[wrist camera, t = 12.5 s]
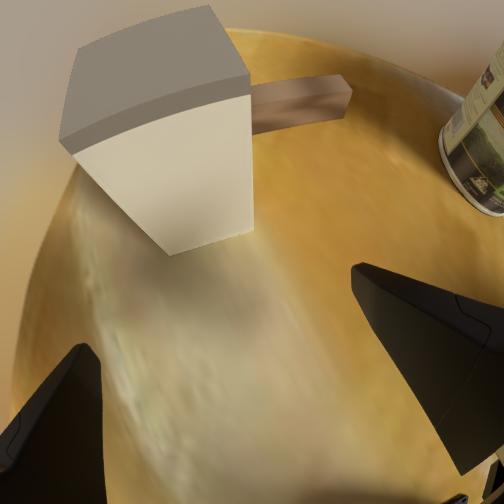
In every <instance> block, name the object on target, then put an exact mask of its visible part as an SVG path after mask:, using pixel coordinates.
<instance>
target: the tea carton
mask: <svg viewBox="0 0 504 504" xmlns="http://www.w3.org/2000/svg"><path fill="white" fill-rule="evenodd" d="M59 142H61V144H62V145H63V146H64V147H65V148H66V150H67V151H68V152H69V153H70V154H71V155H72V156H73V157H74V159H75V160H76V161H77V162H78V163H79V164H80V165H81V166H82V167H83V168H84V170H85V171H86V172H87V173H88V174H89V175H90V176H91V177H92V178H93V179H94V180H95V181H96V183H97V184H98V185H99V186H100V187H101V188H102V189H103V190H104V191H105V192H106V193H107V194H108V195H109V196H110V197H111V198H112V199H113V200H114V201H115V202H116V204H117V205H118V206H119V207H120V208H121V209H122V210H123V211H124V212H125V213H126V214H127V215H128V216H129V217H130V218H131V219H132V220H133V221H134V222H135V223H136V224H137V225H138V226H139V227H140V228H141V229H142V230H143V231H144V232H145V233H146V234H147V235H148V236H149V237H150V238H151V239H152V240H153V241H154V242H156V243H157V244H158V245H159V246H160V247H161V248H162V249H163V250H164V251H165V252H166V253H167V254H168V255H169V256H172V255H175V254H179V253H182V252H185V251H188V250H191V249H195V248H198V247H201V246H204V245H208V244H211V243H214V242H217V241H221V240H224V239H227V238H230V237H234V236H237V235H240V234H244V233H247V232H250V231H254V211H253V167H252V125H251V84H250V72H249V71H248V69H247V67H246V65H245V63H244V62H243V60H242V58H241V56H240V55H239V53H238V51H237V50H236V48H235V46H234V44H233V43H232V41H231V39H230V38H229V36H228V34H227V33H226V31H225V30H224V28H223V26H222V25H221V23H220V21H219V20H218V18H217V17H216V15H215V14H214V12H213V10H212V9H211V7H210V6H209V5H206V6H201V7H196V8H191V9H187V10H183V11H179V12H175V13H172V14H168V15H164V16H161V17H158V18H154V19H151V20H148V21H145V22H142V23H139V24H136V25H133V26H131V27H128V28H125V29H123V30H120V31H118V32H115V33H113V34H110V35H108V36H105V37H103V38H101V39H99V40H96V41H94V42H92V43H90V44H88V45H86V46H84V47H81V48H79V49H78V51H77V54H76V58H75V61H74V65H73V69H72V72H71V77H70V81H69V86H68V90H67V94H66V99H65V104H64V109H63V115H62V121H61V127H60V135H59Z"/></svg>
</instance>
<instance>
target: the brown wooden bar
mask: <svg viewBox="0 0 504 504" xmlns="http://www.w3.org/2000/svg"><path fill="white" fill-rule="evenodd" d="M352 92H353V90H352V89H351V88H350V86H349V85H348V84H347V82H346V81H345V80H344V78H343V77H342V76H341V75H326V76H316V77H306V78H298V79H291V80H283V81H277V82H271V83H265V84H259V85H254V86H251V125H252V135H255V134H260V133H264V132H269V131H273V130H278V129H283V128H288V127H293V126H299V125H304V124H310V123H315V122H322V121H328V120H334V119H341V118H344V115H345V112H346V109H347V107H348V104H349V101H350V98H351V95H352Z"/></svg>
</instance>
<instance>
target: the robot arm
mask: <svg viewBox="0 0 504 504" xmlns="http://www.w3.org/2000/svg"><path fill="white" fill-rule="evenodd" d="M351 287H352V291H353V294H354V296H355V298H356V299H357V301H358V303H359V305H360V307H361V309H362V311H363V313H364V315H365V316H366V318H367V320H368V322H369V324H370V326H371V328H372V330H373V331H374V333H375V334H376V336H377V337H378V339H379V340H380V342H381V343H382V345H383V346H384V348H385V349H386V351H387V352H388V354H389V355H390V357H391V358H392V360H393V361H394V363H395V365H396V366H397V368H398V369H399V371H400V372H401V374H402V375H403V377H404V379H405V380H406V382H407V383H408V385H409V387H410V388H411V390H412V391H413V393H414V395H415V396H416V398H417V400H418V401H419V403H420V404H421V406H422V408H423V409H424V411H425V413H426V414H427V416H428V418H429V420H430V421H431V423H432V425H433V426H434V428H435V430H436V432H437V434H438V435H439V437H440V439H441V441H442V442H443V444H444V446H445V448H446V450H447V451H448V453H449V455H450V457H451V459H452V460H453V462H454V464H455V466H456V468H457V470H458V472H459V473H460V475H461V476H463V475H464V474H466V473H467V472H469V471H470V470H472V469H473V468H474V467H476V466H477V465H479V464H480V463H481V462H483V461H484V460H485V459H487V458H488V457H489V456H491V455H492V454H493V453H494V452H495V453H496V455H497V457H498V459H497V460H496V461H495V462H494V463H493V464H492V465H491V466H490V471H489V475H488V478H487V482H486V486H485V489H484V492H483V496H482V498H483V500H484V501H483V502H482V503H481V504H504V308H500V307H496V306H492V305H489V304H486V303H482V302H479V301H476V300H473V299H470V298H467V297H464V296H461V295H458V294H454V293H453V292H450V291H447V290H444V289H441V288H438V287H435V286H433V285H430V284H427V283H424V282H421V281H418V280H415V279H412V278H409V277H406V276H403V275H400V274H398V273H395V272H392V271H389V270H386V269H383V268H380V267H377V266H374V265H371V264H367V263H364V262H362V263H359V264H356V265H353V266H352V268H351ZM467 501H468V496H467V495H462V496H461V497H459V498H457V499H456V500H454V501H452V502H450V503H449V504H467ZM0 504H107V496H106V487H105V476H104V460H103V400H102V382H101V363H100V360H99V358H98V357H97V356H96V354H95V353H94V352H93V350H92V349H91V348H90V346H89V345H88V344H86V343H81V344H77V345H75V346H74V347H73V348H72V349H71V350H70V352H69V353H68V354H67V355H66V356H65V357H64V358H63V360H62V361H61V362H60V363H59V364H58V365H57V366H56V368H55V369H54V370H53V371H52V372H51V373H50V375H49V376H48V377H47V378H46V379H45V381H44V382H43V383H42V384H41V385H40V387H39V388H38V389H37V390H36V391H35V393H34V394H33V395H32V396H31V398H30V399H29V400H28V401H27V402H26V404H25V405H24V406H23V408H22V409H21V410H20V412H19V413H18V414H17V415H16V416H15V418H14V419H13V420H12V421H11V423H10V424H9V425H8V427H7V428H6V429H5V430H4V431H3V433H2V434H1V435H0Z"/></svg>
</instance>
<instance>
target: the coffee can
mask: <svg viewBox="0 0 504 504" xmlns="http://www.w3.org/2000/svg"><path fill="white" fill-rule="evenodd" d="M438 143H439V151H440V154H441V158H442V161H443V163H444V165H445V168H446V170H447V172H448V173H449V176H450V177H451V179H452V180H453V182H454V184H455V185H456V186H457V188H458V189H459V191H460V192H461V193H462V194H463V195H464V197H465V198H466V199H467V200H468V201H469V202H470V203H471V204H472V205H473V206H475V207H476V208H477V209H479V210H480V211H482V212H483V213H485V214H487V215H490V216H494V217H499V216H503V215H504V41H503V43H502V45H501V46H500V48H499V49H498V51H497V52H496V54H495V56H494V57H493V59H492V60H491V62H490V63H489V65H488V66H487V68H486V69H485V71H484V72H483V74H482V75H481V77H480V78H479V80H478V81H477V82H476V84H475V85H474V87H473V88H472V90H471V91H470V93H469V94H468V96H467V97H466V98H465V100H464V101H463V102H462V104H461V105H460V107H459V108H458V109H457V111H456V112H455V113H454V115H453V116H452V117H451V119H450V120H449V121H448V123H447V124H446V125H445V126H444V127H443V128H442V129H441V131H440V134H439V140H438Z"/></svg>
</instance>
